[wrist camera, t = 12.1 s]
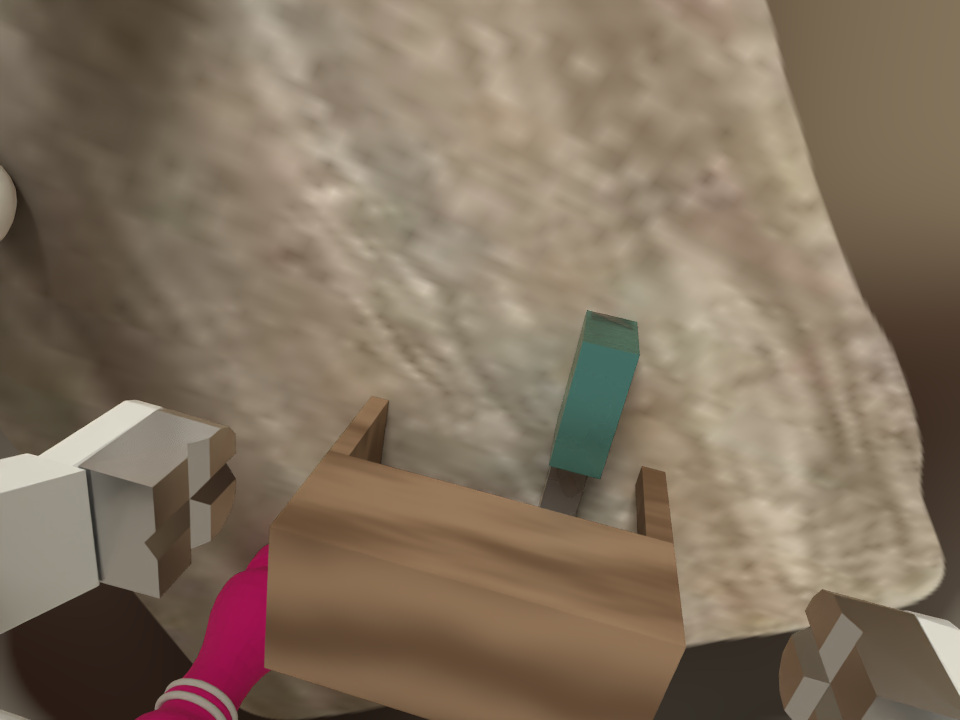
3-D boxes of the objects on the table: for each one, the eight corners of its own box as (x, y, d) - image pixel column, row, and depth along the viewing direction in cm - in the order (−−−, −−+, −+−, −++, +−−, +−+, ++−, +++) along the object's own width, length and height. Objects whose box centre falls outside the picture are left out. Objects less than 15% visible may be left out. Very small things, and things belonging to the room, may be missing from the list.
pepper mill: (350, 594, 51) (203, 874, 33) (283, 614, 53) (113, 885, 35) (300, 525, 49) (116, 783, 31) (233, 550, 51) (27, 801, 33)
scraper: (562, 304, 38) (554, 334, 33) (662, 327, 37) (668, 362, 32) (498, 561, 46) (485, 612, 42) (577, 583, 46) (573, 638, 41)
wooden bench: (371, 396, 43) (269, 526, 30) (665, 472, 41) (686, 646, 28) (358, 511, 47) (264, 667, 35) (623, 585, 45) (625, 781, 32)
